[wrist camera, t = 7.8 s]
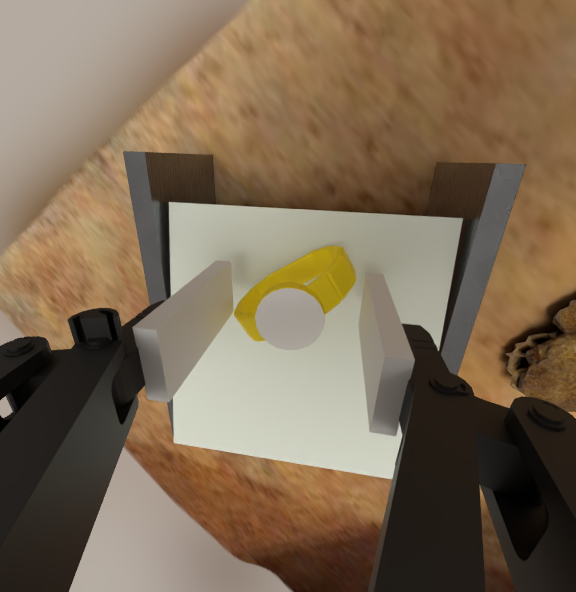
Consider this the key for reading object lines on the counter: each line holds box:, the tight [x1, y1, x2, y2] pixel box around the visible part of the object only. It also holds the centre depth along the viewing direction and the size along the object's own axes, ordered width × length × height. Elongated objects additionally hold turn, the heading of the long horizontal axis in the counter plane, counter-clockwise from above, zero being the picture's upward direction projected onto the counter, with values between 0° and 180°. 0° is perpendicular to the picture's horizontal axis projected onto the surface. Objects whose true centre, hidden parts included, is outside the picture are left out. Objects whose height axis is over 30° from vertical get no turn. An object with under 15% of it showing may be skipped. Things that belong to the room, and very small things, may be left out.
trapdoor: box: [169, 202, 463, 479], centre depth 19 cm, size 16×16×1 cm
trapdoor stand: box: [123, 151, 526, 438], centre depth 23 cm, size 19×21×9 cm
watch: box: [234, 246, 356, 350], centre depth 14 cm, size 6×3×6 cm, turn 121°
